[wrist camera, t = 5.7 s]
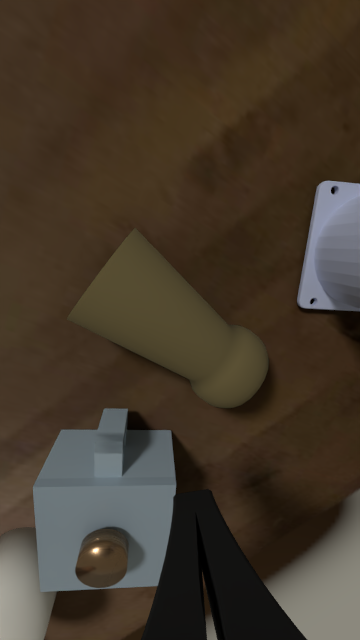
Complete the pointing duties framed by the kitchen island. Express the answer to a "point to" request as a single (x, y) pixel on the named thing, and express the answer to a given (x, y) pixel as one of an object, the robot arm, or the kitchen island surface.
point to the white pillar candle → (22, 588)
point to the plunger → (102, 558)
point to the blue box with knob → (105, 499)
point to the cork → (171, 325)
